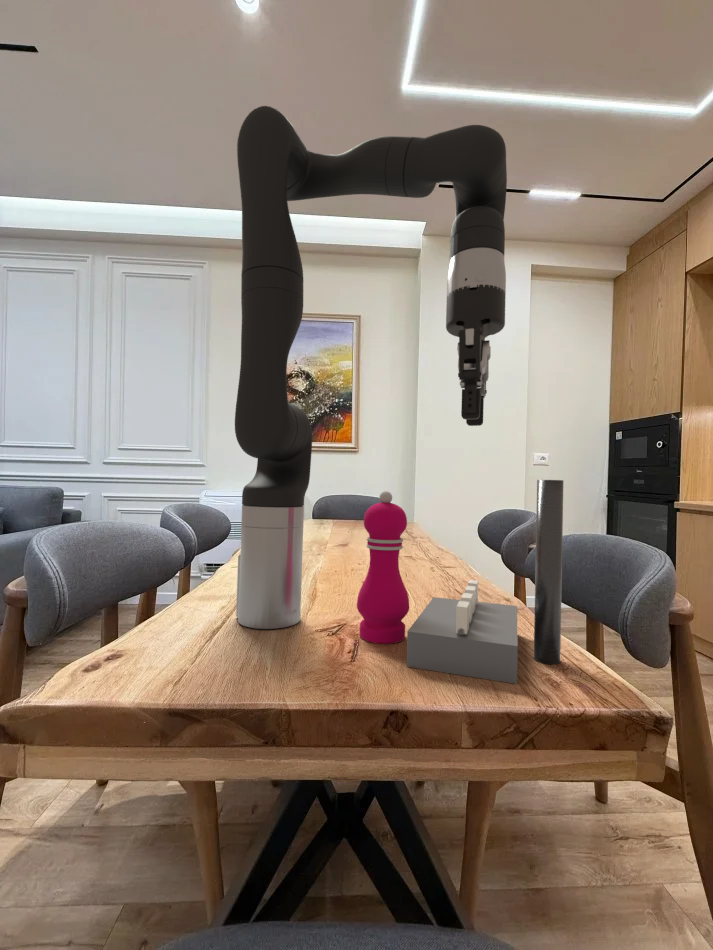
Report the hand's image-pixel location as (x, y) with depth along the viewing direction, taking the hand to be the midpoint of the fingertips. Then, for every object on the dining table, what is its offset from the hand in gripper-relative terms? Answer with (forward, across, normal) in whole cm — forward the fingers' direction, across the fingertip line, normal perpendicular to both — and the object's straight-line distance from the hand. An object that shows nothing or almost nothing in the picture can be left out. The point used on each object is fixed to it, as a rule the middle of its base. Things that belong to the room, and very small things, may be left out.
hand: (472, 421), depth 60 cm
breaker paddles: (+25, 0, 0) cm, 25 cm away
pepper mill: (+30, 0, -12) cm, 32 cm away
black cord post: (+29, 0, +10) cm, 31 cm away
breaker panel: (+29, 0, 0) cm, 29 cm away
